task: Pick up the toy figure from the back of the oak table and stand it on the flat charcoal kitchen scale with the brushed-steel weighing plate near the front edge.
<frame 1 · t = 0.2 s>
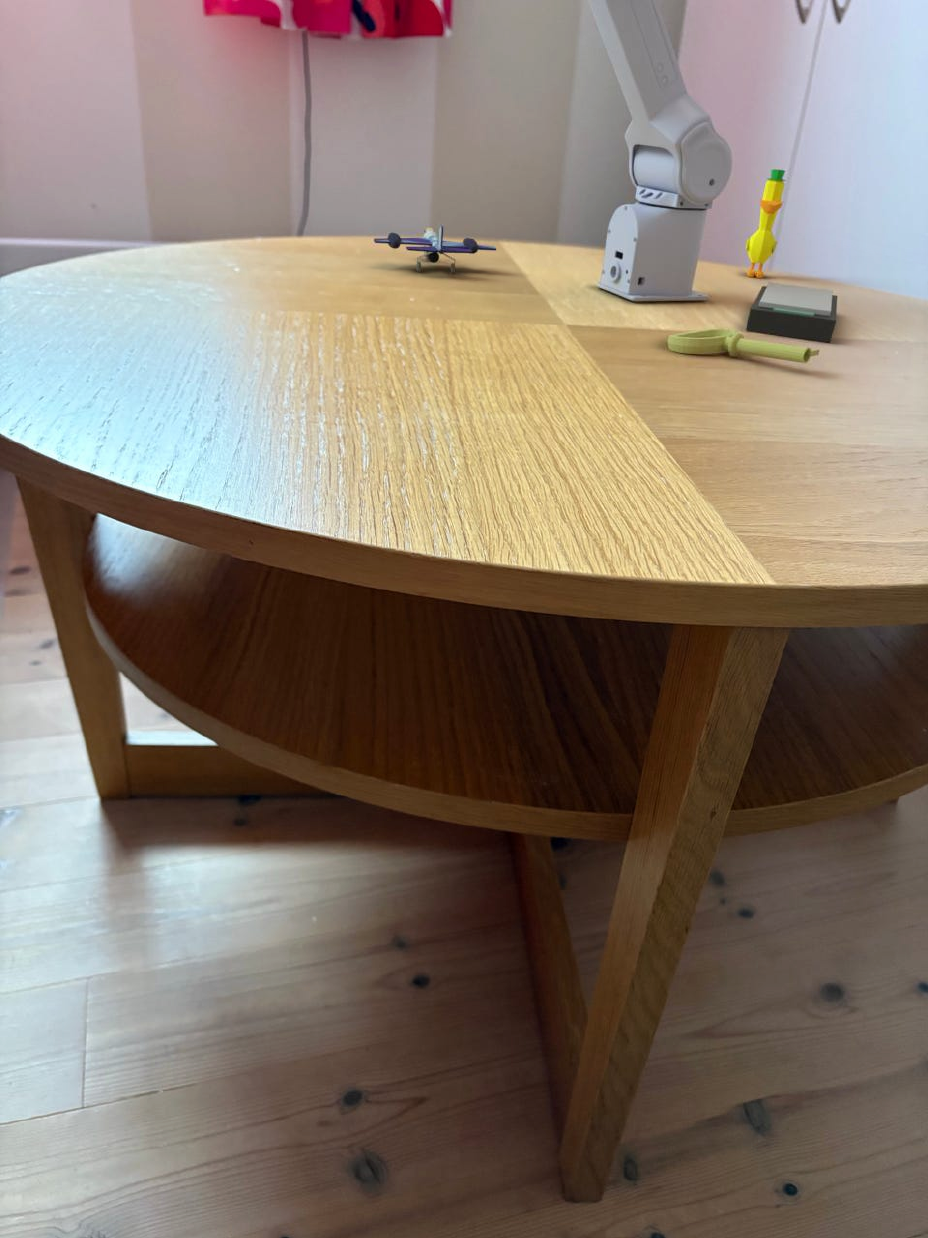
toy figure: (754, 277, 111), on the table
scale: (791, 322, 88), on the table
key: (733, 359, 74), on the table
toy airplane: (431, 268, 101), on the table
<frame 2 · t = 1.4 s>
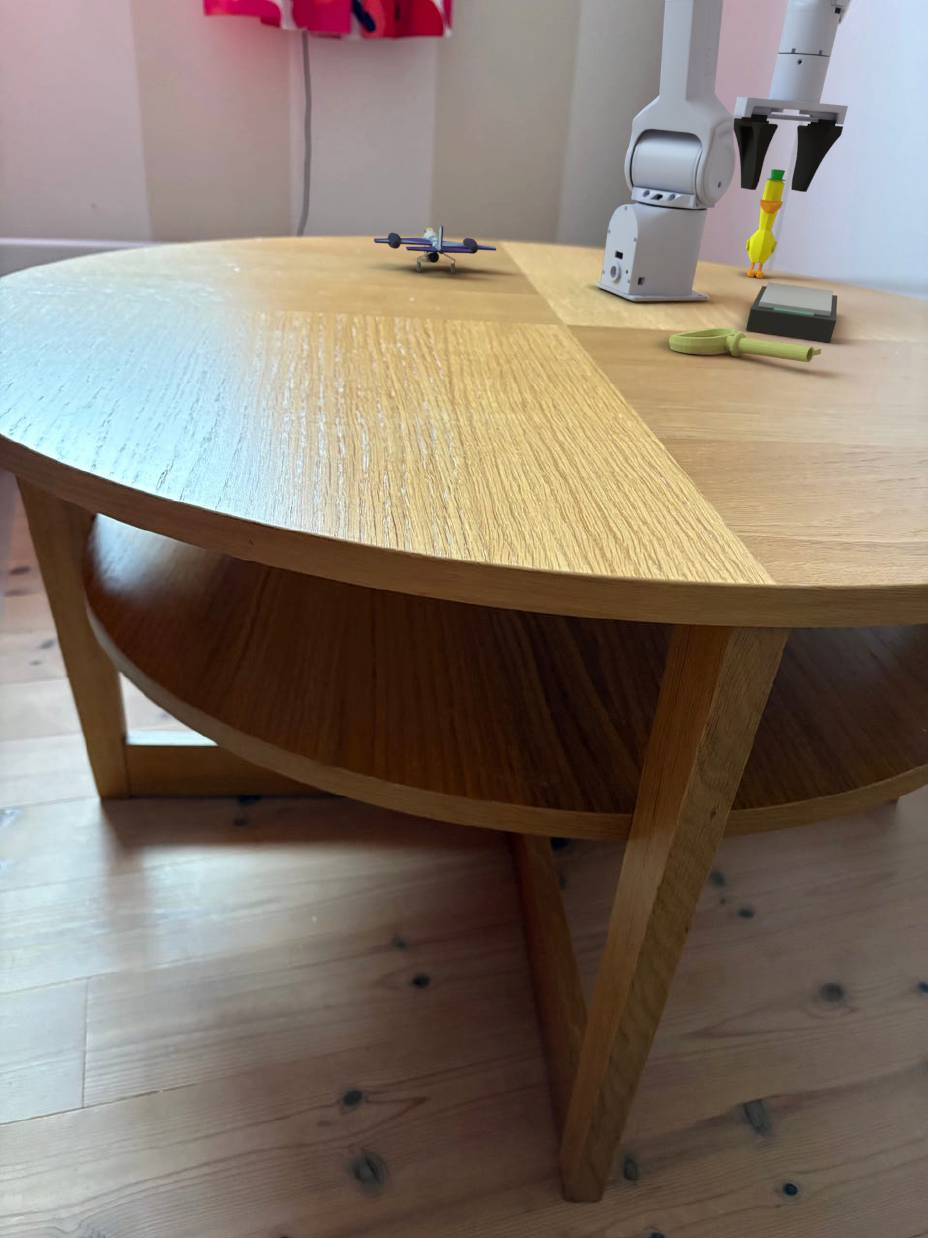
hand: (773, 189, 106), 10 cm above the table, tool pointing down, fingers open, 7 cm apart
nothing on the table moved.
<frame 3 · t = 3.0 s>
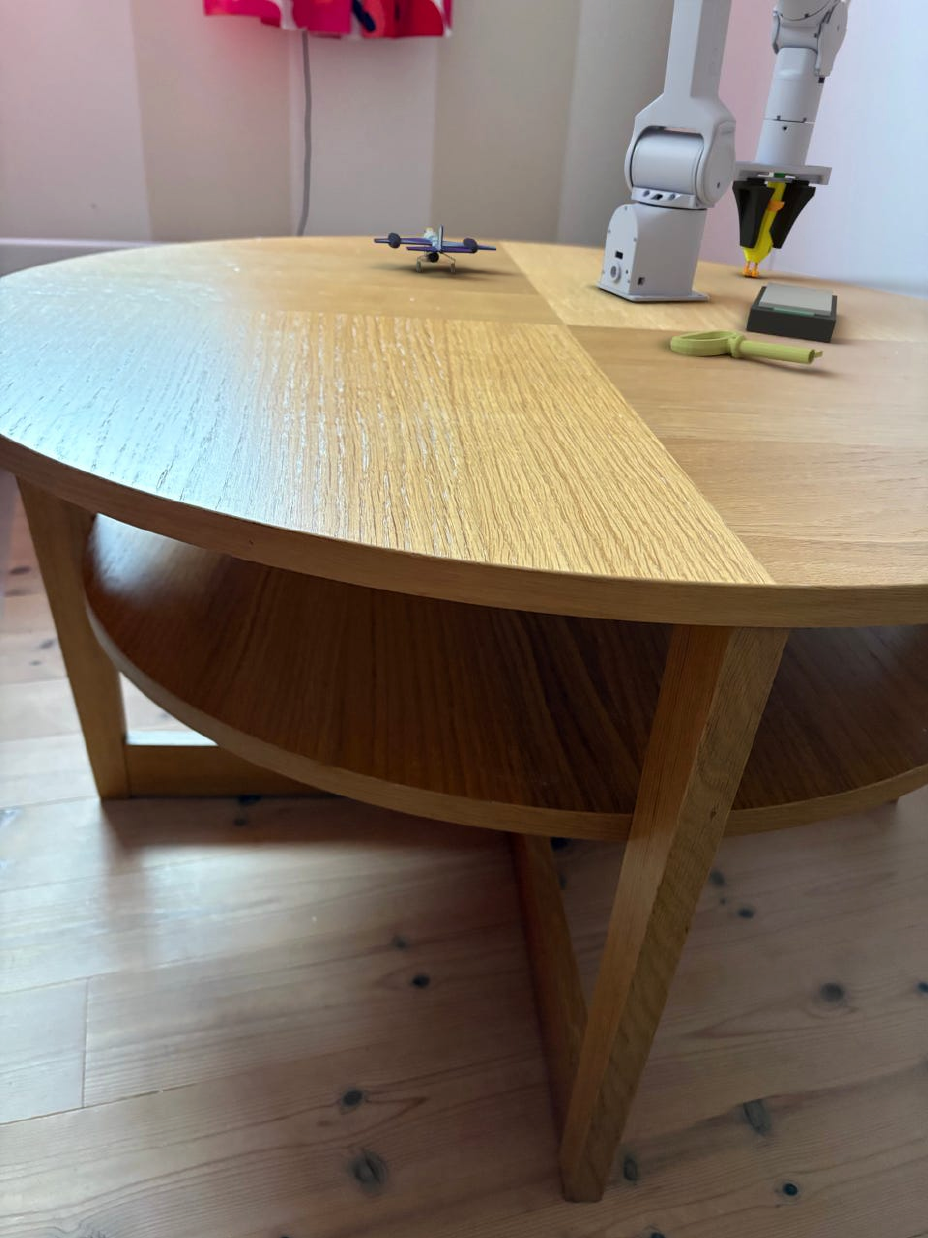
hand: (760, 247, 109), 3 cm above the table, tool pointing down, fingers closed on toy figure, 4 cm apart
toy figure: (748, 276, 111), on the table, touching gripper
everything else where it was.
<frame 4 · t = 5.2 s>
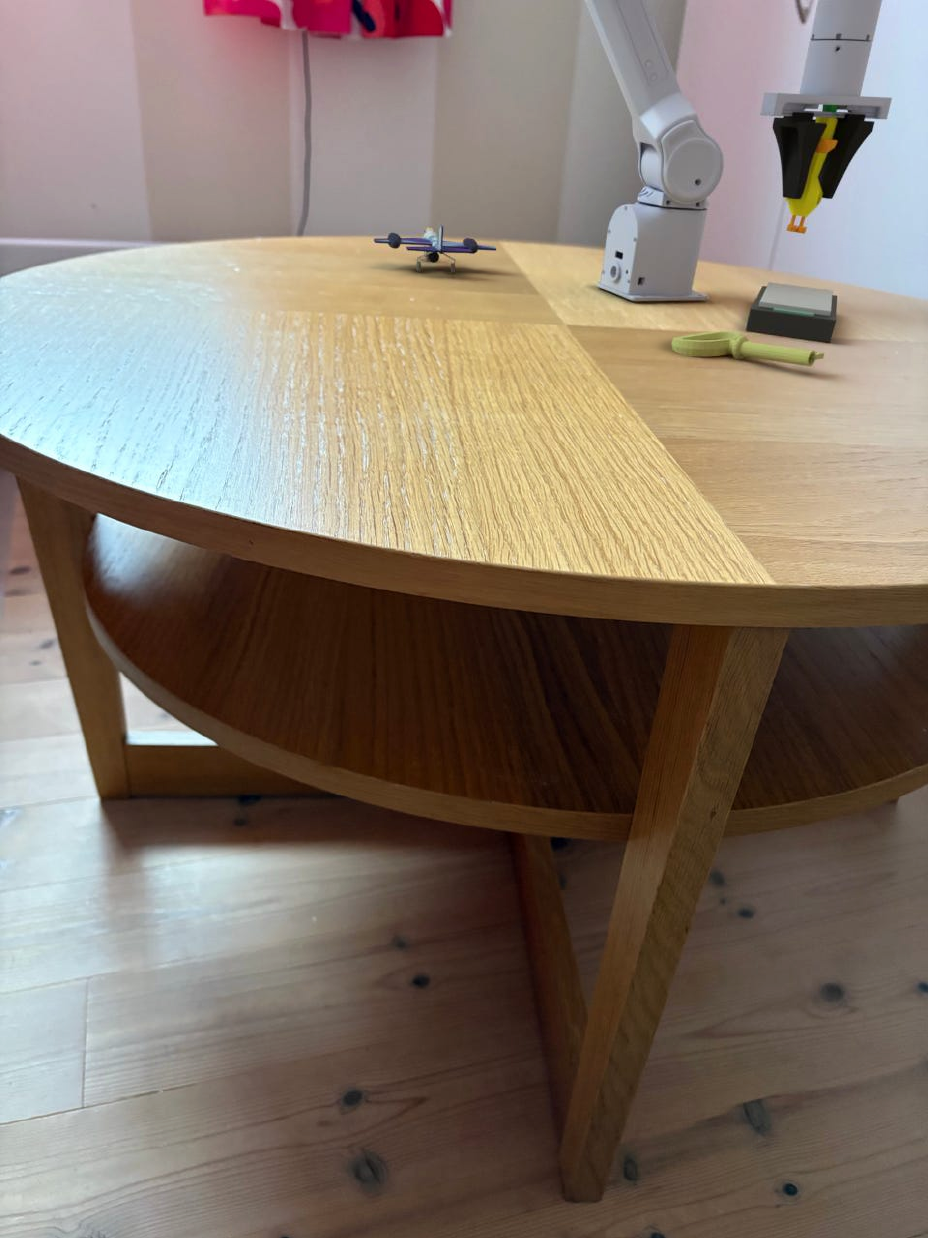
hand: (807, 197, 92), 10 cm above the table, tool pointing down, fingers closed on toy figure, 4 cm apart
toy figure: (794, 233, 93), point 7 cm above the table, touching gripper
when the fingers open (6 cm above the table, at t = 7.8 s): toy figure stays where it is, resting on scale.
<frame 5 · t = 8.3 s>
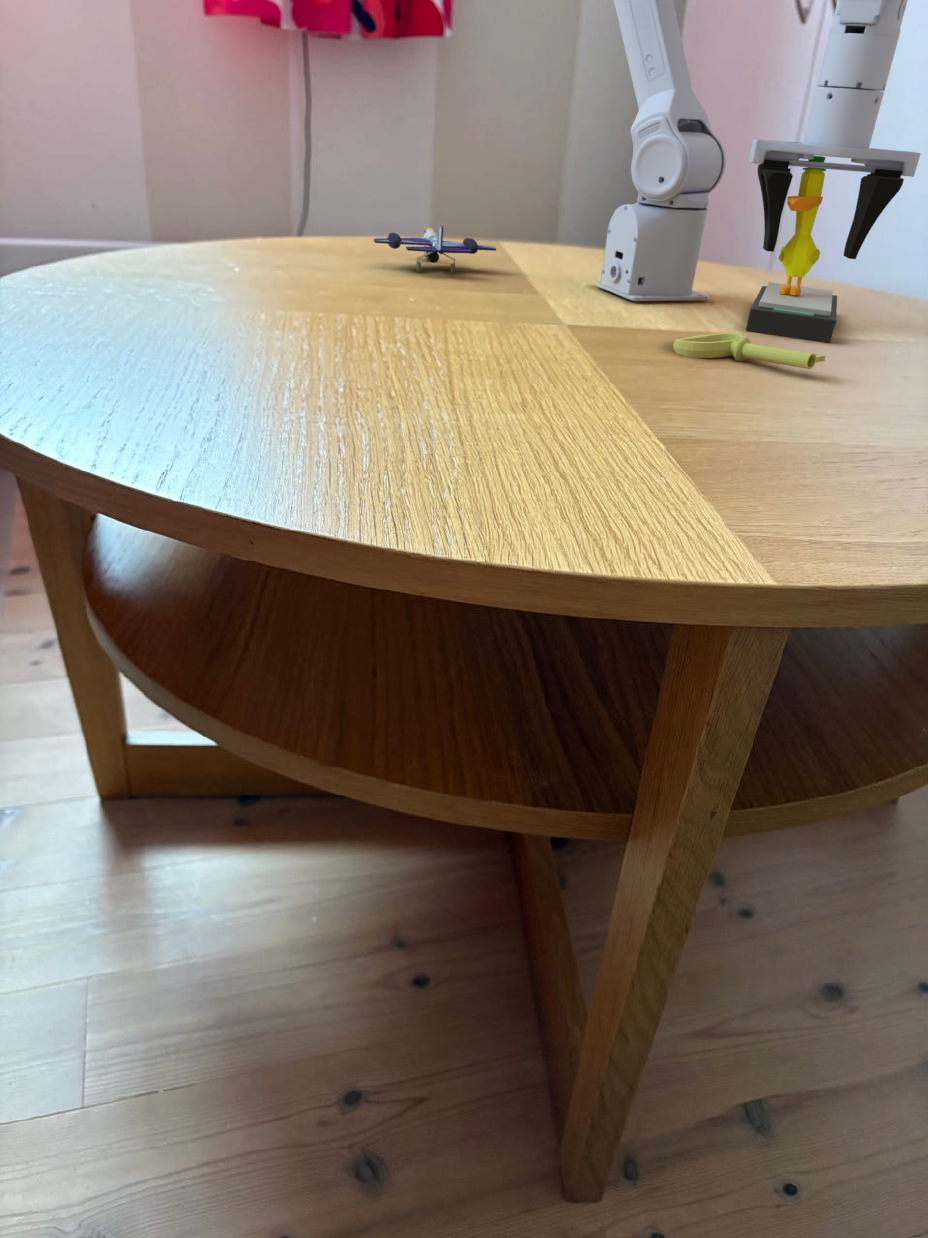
hand: (808, 253, 85), 6 cm above the table, tool pointing down, fingers open, 7 cm apart
toy figure: (789, 295, 87), point 2 cm above the table, touching scale
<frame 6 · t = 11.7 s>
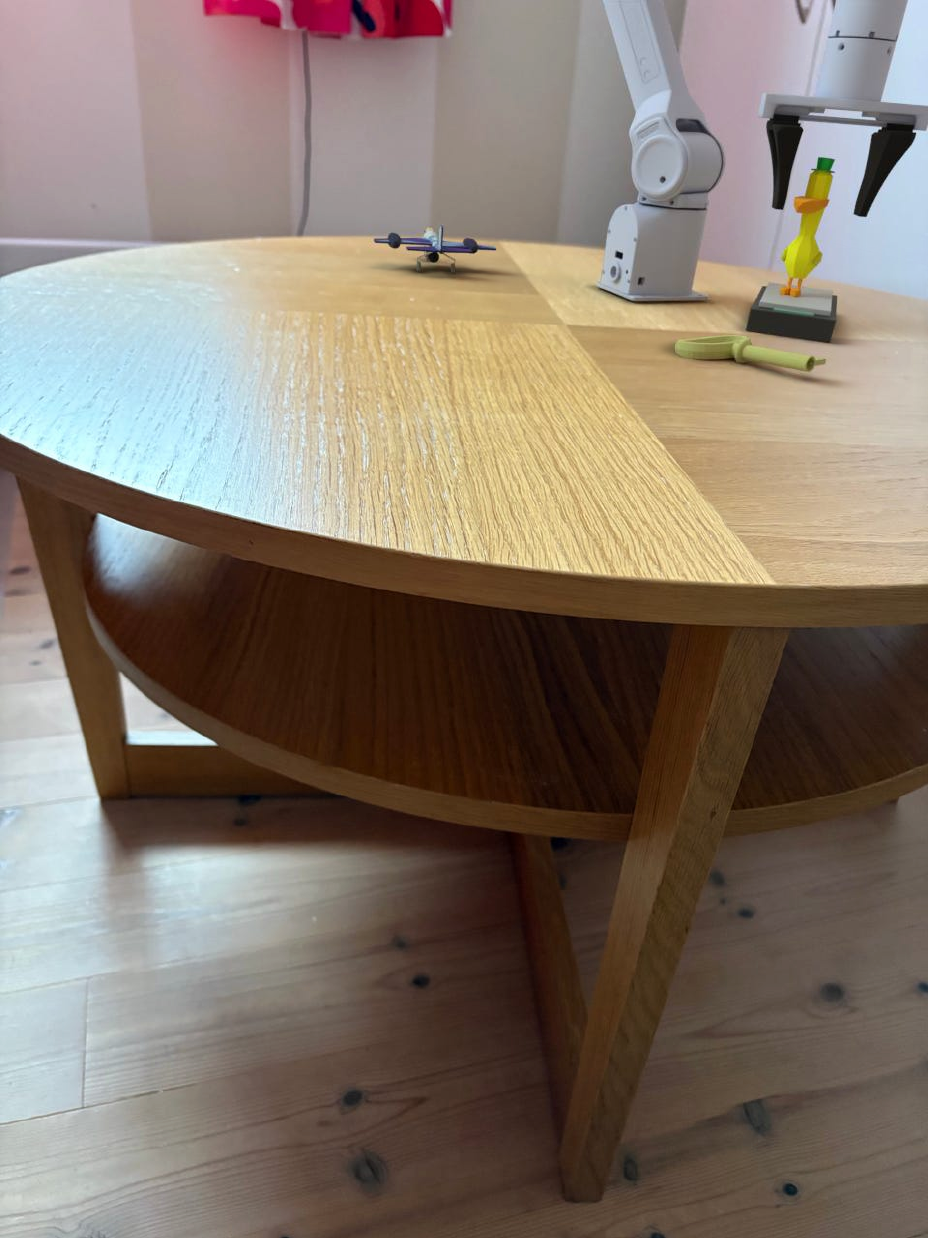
hand: (818, 212, 84), 10 cm above the table, tool pointing down, fingers open, 7 cm apart
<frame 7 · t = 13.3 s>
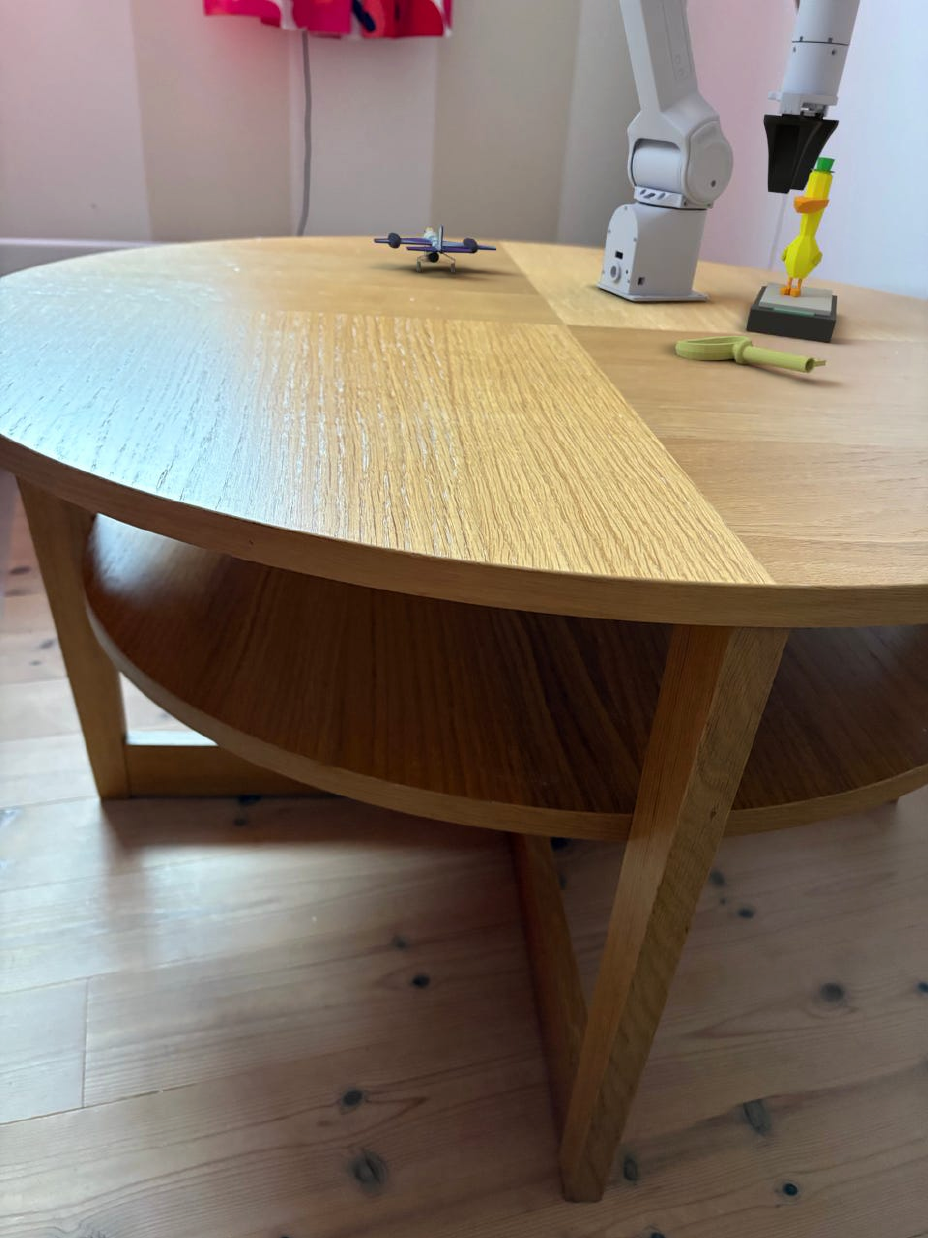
hand: (786, 191, 98), 10 cm above the table, tool pointing down, fingers open, 7 cm apart
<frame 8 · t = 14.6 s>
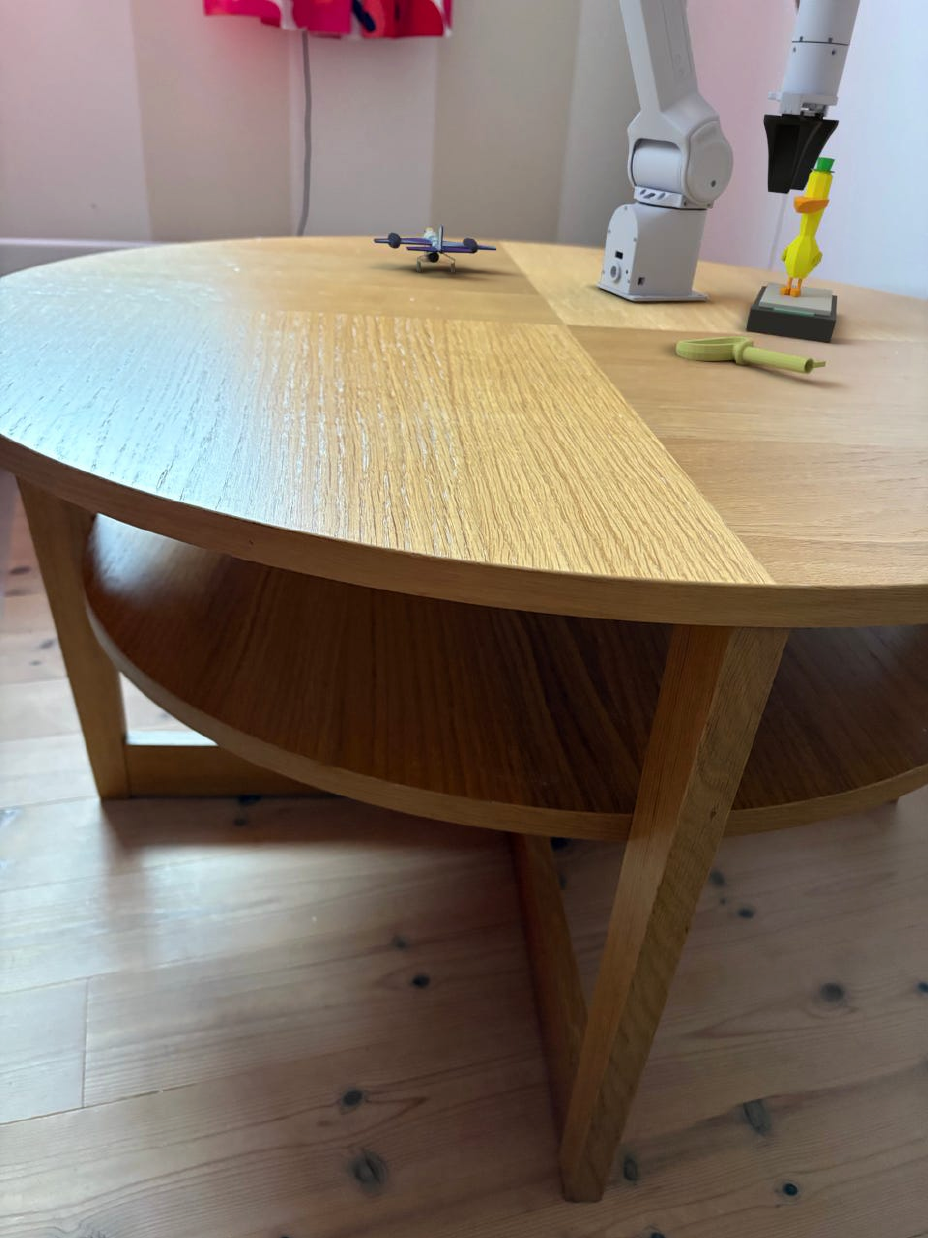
hand: (786, 191, 98), 10 cm above the table, tool pointing down, fingers open, 7 cm apart
at the end: toy figure inside the target area on the scale (1.2 cm from its centre), point 2.3 cm above the scale's base; toy figure tilted 0°; the gripper is holding nothing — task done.
